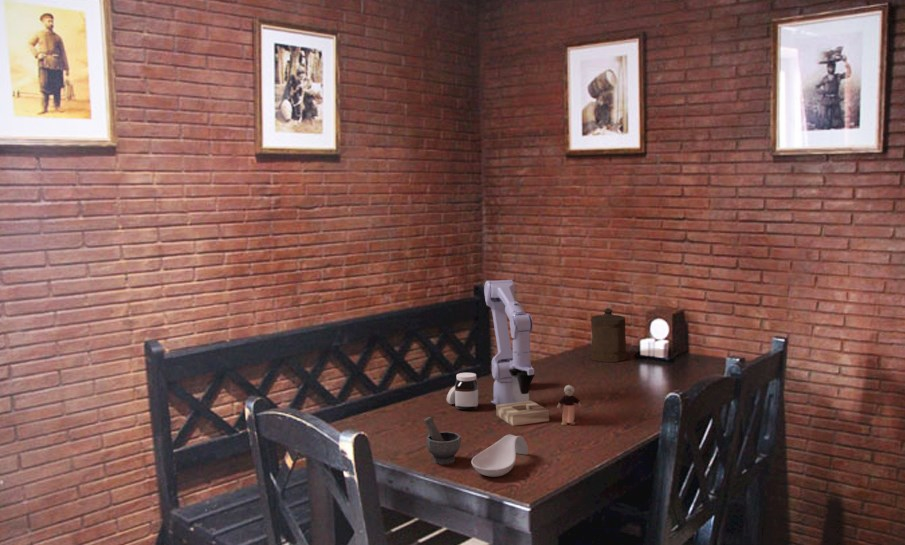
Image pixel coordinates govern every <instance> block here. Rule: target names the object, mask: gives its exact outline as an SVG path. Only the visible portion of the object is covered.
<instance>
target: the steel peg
mask: <svg viewBox="0 0 905 545" xmlns="http://www.w3.org/2000/svg"><path fill="white" fill-rule="evenodd" d="M512 388H513V400H515V401H516V402H525V401H530V392H529V393H528V394H522V392H521V386H520V381H519V378H518V376H517V375H515V376H512Z"/></svg>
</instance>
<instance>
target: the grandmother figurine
mask: <svg viewBox="0 0 905 545" xmlns="http://www.w3.org/2000/svg"><path fill="white" fill-rule="evenodd" d="M563 392H564V393H565V395H564V396H562V397H561V399H560V400H559V401H558V403H557V406H556V408H557V409H560V408H561V407H562V405H563V407H562V416H561V417H562V418H561V419H562V421H561V424H560V425H561V426H567V425H571V426H574V425H576V422H575V404H576V405H577V407H579V408H581V407H582V404H581V401H580V399H579V398H578V397H576V396H574V393H575V388H574V386H572V385H570V384H567V385H565V386H564V388H563Z"/></svg>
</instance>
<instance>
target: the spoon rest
mask: <svg viewBox="0 0 905 545" xmlns="http://www.w3.org/2000/svg"><path fill="white" fill-rule="evenodd" d="M529 453H530V452H529V446H528V443H527V442H526V439H525V438H524V437H523V436H522V435H514V434H506V435H504V436H503V437H502V438H500V439H499V440H497V441H496V442H495V443H493V444H492V445H490V446H489V447H487V448H486V449H484V450H482V451H481V452H479V453H478V454H476V455H475V456H473V457H472V459H471V466H472V467H473V469H474V470H475V471H476V472H477V473H479V474H480V475H482V476H486V477H492V478H497V477H502V476H505V475H507V473H509V472H510V471H511V470H512V469H513V467H514V466H515V463H516V460H517V454H518V455H528V454H529Z"/></svg>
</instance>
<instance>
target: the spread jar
mask: <svg viewBox="0 0 905 545" xmlns="http://www.w3.org/2000/svg"><path fill="white" fill-rule="evenodd" d="M446 402H447V403H448V404H450V405H452V404H453V405H455V408H456V409H458V410H460V411H473V410H476V409H478V407H479V383H478V381H477V374H476V373H474V372H460V373H457V374H456V381H455V385H454V386H452V387H451V388H450V389H449V391H448V393H447V395H446Z"/></svg>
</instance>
